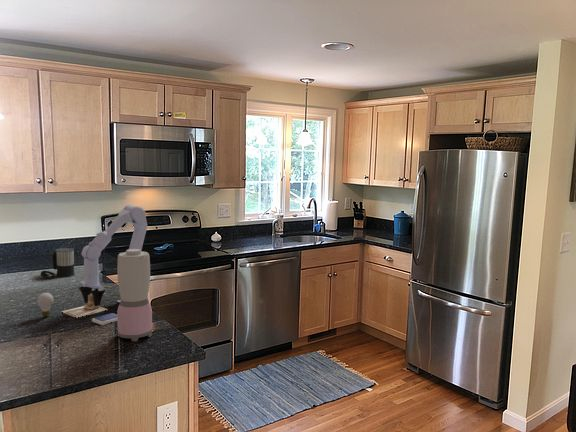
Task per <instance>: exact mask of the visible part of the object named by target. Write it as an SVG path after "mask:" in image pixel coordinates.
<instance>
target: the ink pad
mask: <svg viewBox="0 0 576 432" xmlns="http://www.w3.org/2000/svg"><path fill="white" fill-rule="evenodd" d="M91 322H93V323H95V324H98V325H100V326H104V325H107V324H112V323H115V322H117V313H116V314H115V313H113V312H112V313H111V312H110V313H107V314H103V315H99V316H96V317H93V318H91ZM111 322H112V323H111Z"/></svg>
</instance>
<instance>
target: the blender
mask: <svg viewBox="0 0 576 432" xmlns="http://www.w3.org/2000/svg"><path fill="white" fill-rule="evenodd" d="M150 258H151V257H150V253H149V252H147V251H142V250H140V249H129V248H128V249H126V250H125V252H123V251H122V252H120V253H119V254H117V264H116V265H117V268H116V270H117V271H116V272H117V285H118V286H117V287H118V291H119V295H120V300H121V302H120V303H119V305H118V307H117V311H116V315H117V321H116V323H117V336H119V337H120V338H122V339H131V342H132V341H134V342H138V341H139V338H144V337H147V338H150V337H152V335H153V311H152V310H153V309H152V305H151V303H150V301H149V291H150V283H151V262H150V260H151V259H150Z"/></svg>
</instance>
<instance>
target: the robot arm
mask: <svg viewBox="0 0 576 432" xmlns="http://www.w3.org/2000/svg"><path fill="white" fill-rule="evenodd" d="M146 215H147V212H146V211H145V210H144V208H142V207H141V206H135V205H132V204H129V205H126V206H124V208H123V209H121V210H120V211H119V212H118V215H117V216H116V217H115V218H114V220H113V221H112V222H111V224H110V225H109V226H108V227H107V228H106V229H105V230H104V231H100V232H97V233H96V234H95V235H96V236H95V237H94V238H93V240H92V241H89V243H88V244H87V245H85V246H84V247H83V248H82V251H81V256H82V257H83V274H84V278H83V279H84V280H80V286H78V290H79V291H80V293H81V295H82V298H83V301H84V303H85V304H88V295H90V294H92V295H93V299H94V305H95V306H100V307H101V302H102V298H103V296H104V294H105V292H106V289H105V288H104V285H102V284H101V283H100V282H99V281H100V279H99V278H100V274H99V258H100V257H101V253H102V251H103V250H104V249H105V248H106V247H107V245H109V243H110V242H111V241H112V236H113V235H114V234H115V233H116V232H117V231H119V229H120V228H121V227H122V226H123V225H124V224H126V223H127V224H128V223H131V224H132V226H133V227H134V228H133V233H132V237H131V240H130V244H129V247H128V250H129V249H140V250H141V251H142V250H143V244H144V241H145V238H146V237H145V236H146V234H147V229H148V221H147V218H146ZM93 289H94V290H93ZM116 302H117V303H119V304H120V302H121V299H119V300H117V301H116Z"/></svg>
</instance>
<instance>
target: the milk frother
mask: <svg viewBox="0 0 576 432" xmlns="http://www.w3.org/2000/svg"><path fill="white" fill-rule="evenodd" d="M74 250H75V248H72V247H61V248H57V249H55V250H54V251H53V252H52V254H51V257H52V268H53V270H57V271H56V273H55V272H52V271H50V270H43V271H41V272H40V276H41V277H42V278H44V279H54V277H55V275H56V277H58V278H59V277H60V278H68V277H73V276H75V275H76V273H75V254H74Z"/></svg>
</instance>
